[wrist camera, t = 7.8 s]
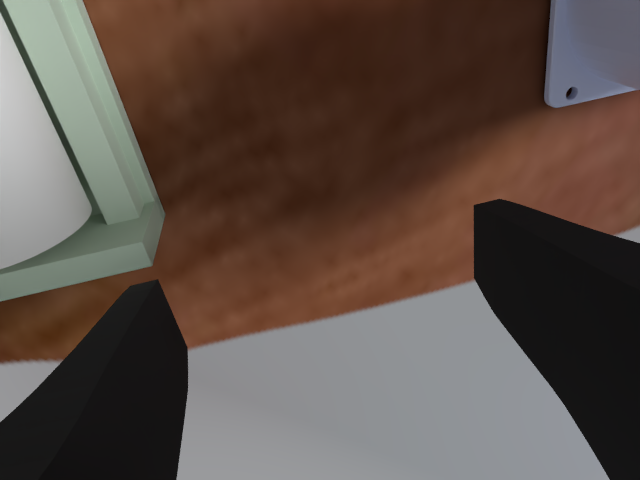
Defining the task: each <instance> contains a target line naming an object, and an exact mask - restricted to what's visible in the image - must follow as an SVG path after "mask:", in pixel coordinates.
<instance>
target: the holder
mask: <svg viewBox="0 0 640 480" xmlns="http://www.w3.org/2000/svg"><path fill="white" fill-rule="evenodd" d="M0 13H1V15H2V17H3V19H4V21H5V23H6V25H7V28H8V30H9V32H10V34H11V36H12V38H13V40H14V42H15V45H16V47H17V49H18V51H19V53H20V55H21V57H22V59H23V62H24V64H25V66H26V68H27V70H28V72H29V74H30V77H31V79H32V81H33V83H34V85H35V87H36V89H37V91H38V94H39V96H40V98H41V100H42V102H43V104H44V106H45V109H46V111H47V113H48V115H49V117H50V119H51V121H52V123H53V126H54V128H55V130H56V132H57V134H58V136H59V138H60V140H61V143H62V145H63V147H64V149H65V151H66V153H67V155H68V158H69V160H70V162H71V164H72V166H73V168H74V170H75V172H76V175H77V177H78V179H79V181H80V183H81V185H82V187H83V190H84V192H85V194H86V196H87V198H88V200H89V202H90V204H91V207H92V212H91V215H90V216H89V218H88V220H87V221H86V222H85V223H84V224H83V225H82V226H81V227H80V228H79V229H78V230H77V231H76V232H75V233H73V234H72V235H71V236H69V237H68V238H66V239H65V240H63V241H62V242H60V243H59V244H57V245H55V246H53V247H52V248H50V249H48V250H46V251H44V252H42V253H40V254H38V255H36V256H34V257H32V258H29V259H27V260H25V261H22V262H20V263H17V264H15V265H12V266H9V267H6V268H3V269H0V301H4V300H9V299H13V298H17V297H22V296H26V295H30V294H34V293H39V292H43V291H47V290H52V289H56V288H60V287H64V286H69V285H73V284H77V283H81V282H86V281H90V280H94V279H99V278H103V277H107V276H111V275H116V274H120V273H124V272H129V271H133V270H137V269H141V268H146V267H150V266H152V265H153V261H154V257H155V253H156V250H157V246H158V242H159V238H160V234H161V230H162V226H163V222H164V218H165V212H164V210H163V207H162V204H161V202H160V199H159V197H158V194H157V192H156V189H155V186H154V184H153V181H152V179H151V176H150V173H149V171H148V168H147V166H146V163H145V161H144V158H143V155H142V153H141V150H140V148H139V145H138V143H137V140H136V137H135V135H134V132H133V130H132V127H131V124H130V122H129V119H128V117H127V114H126V112H125V109H124V106H123V104H122V101H121V99H120V96H119V93H118V91H117V88H116V86H115V83H114V81H113V78H112V75H111V73H110V70H109V68H108V65H107V62H106V60H105V57H104V55H103V52H102V50H101V47H100V44H99V42H98V39H97V37H96V34H95V31H94V29H93V26H92V24H91V21H90V19H89V16H88V13H87V11H86V8H85V6H84V3H83V1H82V0H0Z"/></svg>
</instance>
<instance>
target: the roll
mask: <svg viewBox="0 0 640 480" xmlns="http://www.w3.org/2000/svg"><path fill="white" fill-rule="evenodd" d="M91 212H92V207H91V204H90V202H89V200H88V198H87V196H86V194H85V192H84V190H83V187H82V185H81V183H80V181H79V179H78V177H77V175H76V172H75V170H74V168H73V166H72V164H71V162H70V160H69V158H68V155H67V153H66V151H65V149H64V147H63V145H62V143H61V140H60V138H59V136H58V134H57V132H56V130H55V128H54V126H53V123H52V121H51V119H50V117H49V115H48V113H47V111H46V109H45V106H44V104H43V102H42V100H41V98H40V96H39V94H38V91H37V89H36V87H35V85H34V83H33V81H32V79H31V77H30V74H29V72H28V70H27V68H26V66H25V64H24V62H23V59H22V57H21V55H20V53H19V51H18V49H17V47H16V45H15V42H14V40H13V38H12V36H11V34H10V32H9V30H8V28H7V25H6V23H5V21H4V19H3V17H2V15H1V13H0V269H3V268H6V267H9V266H12V265H15V264H17V263H20V262H22V261H25V260H27V259H29V258H32V257H34V256H36V255H38V254H40V253H42V252H44V251H46V250H48V249H50V248H52V247H53V246H55V245H57V244H59V243H60V242H62V241H63V240H65V239H66V238H68V237H69V236H71V235H72V234H73V233H75V232H76V231H77V230H78V229H79V228H80V227H81V226H82V225H83V224H84V223H85V222H86V221H87V220H88V218H89V216H90V215H91Z"/></svg>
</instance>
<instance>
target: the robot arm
mask: <svg viewBox="0 0 640 480" xmlns="http://www.w3.org/2000/svg"><path fill="white" fill-rule="evenodd" d="M571 87H572V92H571V94H570V95H569V96H568V97H566V93H567V91H568V89H569V88H571ZM634 90H640V0H551V10H550V23H549V37H548V51H547V64H546V78H545V92H544V99H545V102H546V104H547V105H549V106H552V107H554V108H559V107H564V106H568V105H573V104H577V103H581V102H586V101H590V100H595V99H599V98H603V97H608V96H612V95H617V94H621V93H626V92H630V91H634ZM474 279H475V280H476V282H477V284H478V286H479V288H480V289H481V291H482V293H483V295H484V297H485V299H486V300H487V302H488V304H489V305H490V307H491V309H492V310H493V312H494V314H495V315H496V316H497V318H498V319H499V320H500V321H501V323H502V324H503V325H504V327H505V328H506V329H507V331H508V332H509V333H510V334H511V336H512V337H513V338H514V340H515V341H516V342H517V344H518V345H519V346H520V347H521V349H522V350H523V351H524V353H525V354H526V355H527V356H528V358H529V359H530V360H531V361H532V363H533V364H534V365H535V366H536V368H537V369H538V370H539V372H540V373H541V374H542V375H543V377H544V378H545V379H546V381H547V382H548V383H549V385H550V386H551V387H552V388H553V390H554V391H555V392H556V394H557V395H558V397H559V398H560V399H561V401H562V402H563V404H564V405H565V407H566V408H567V410H568V412H569V413H570V415H571V416H572V418H573V419H574V421H575V423H576V424H577V426H578V428H579V429H580V431H581V432H582V434H583V435H584V437H585V439H586V440H587V442H588V443H589V445H590V447H591V448H592V450H593V452H594V453H595V455H596V457H597V459H598V460H599V462H600V464H601V465H602V467H603V469H604V470H605V472H606V474H607V475H608V477H609V479H610V480H640V243H637V242H633V241H630V240H626V239H622V238H619V237H616V236H613V235H609V234H606V233H603V232H600V231H596V230H593V229H590V228H587V227H584V226H581V225H578V224H575V223H572V222H569V221H566V220H564V219H561V218H558V217H555V216H552V215H549V214H546V213H543V212H541V211H538V210H535V209H532V208H529V207H526V206H523V205H520V204H517V203H513V202H510V201H506V200H502V199H497V200H493V201H489V202H485V203H480V204H476V205H474ZM187 392H188V350H187V346H186V343H185V341H184V339H183V336H182V334H181V332H180V329H179V327H178V325H177V322H176V320H175V318H174V316H173V313H172V311H171V309H170V306H169V304H168V302H167V299H166V297H165V295H164V292H163V290H162V288H161V285H160V283H159V281H158V280H154V281H149V282H145V283H141V284H137V285H132V286H130V287H129V288H128V289H127V290H126V291H125V292H124V293H123V294H122V295H121V296H120V297H119V298H118V299H117V300H116V302H115V303H114V304H113V305H112V306H111V307H110V309H109V310H108V311H107V312H106V313H105V314H104V315H103V317H102V318H101V319H100V320H99V321H98V322H97V324H96V325H95V326H94V327H93V328H92V329H91V330H90V332H89V333H88V334H87V335H86V336H85V337H84V338H83V340H82V341H81V342H80V343H79V344H78V345H77V346H76V348H75V349H74V350H73V351H72V352H71V353H70V354H69V355H68V356H67V357H66V358H65V359H64V360H63V361H62V362H61V363H60V365H59V366H58V367H57V368H56V369H55V370H54V371H53V372H52V373H51V374H50V375H49V376H48V377H47V378H46V379H45V380H44V382H42V383H41V384H40V385H39V387H38V388H37V389H36V390H35V391H34V392H33V393H32V394H31V395H30V396H29V397H27V398H26V399H25V400H24V401H23V402H22V403H21V404H20V405H19V406H18V407H17V408H16V409H15V410H14V411H13V412H11V413H10V414H9V415H8V416H7V417H6V418H5V419H4V420H2V421H1V422H0V480H176V477H177V471H178V463H179V455H180V448H181V440H182V432H183V425H184V417H185V409H186V401H187Z"/></svg>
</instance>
